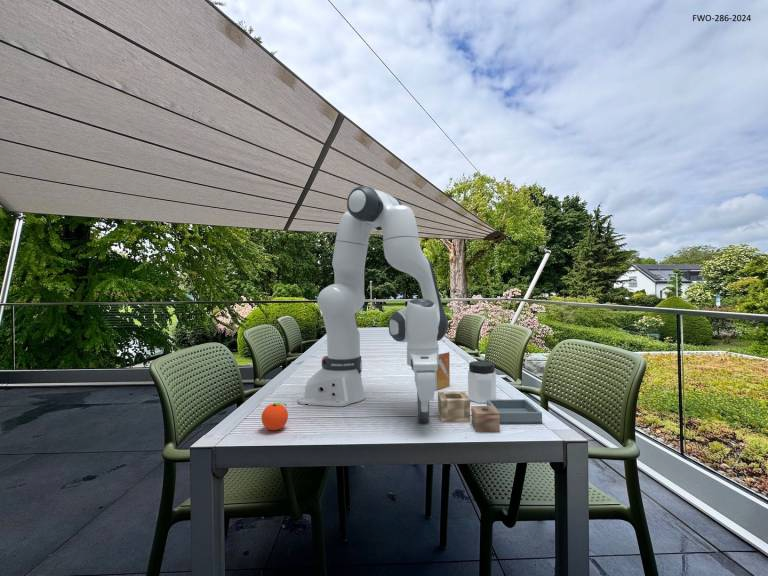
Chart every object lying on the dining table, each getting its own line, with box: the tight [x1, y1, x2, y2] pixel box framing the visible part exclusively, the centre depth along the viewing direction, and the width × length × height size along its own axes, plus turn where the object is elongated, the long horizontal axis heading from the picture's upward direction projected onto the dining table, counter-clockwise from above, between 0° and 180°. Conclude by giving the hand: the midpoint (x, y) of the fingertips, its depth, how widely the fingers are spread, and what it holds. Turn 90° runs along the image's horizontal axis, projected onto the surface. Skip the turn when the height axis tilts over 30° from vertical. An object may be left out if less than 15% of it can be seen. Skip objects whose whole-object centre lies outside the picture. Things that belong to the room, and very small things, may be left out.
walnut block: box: [470, 405, 501, 434], centre depth 100 cm, size 6×6×5 cm
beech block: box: [437, 391, 471, 423], centre depth 109 cm, size 8×8×6 cm
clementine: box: [261, 402, 289, 431], centre depth 102 cm, size 8×7×7 cm
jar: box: [467, 360, 497, 404], centre depth 124 cm, size 9×8×12 cm
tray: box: [486, 398, 543, 425], centre depth 108 cm, size 12×12×3 cm
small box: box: [434, 349, 451, 391], centre depth 141 cm, size 8×6×13 cm
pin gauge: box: [416, 391, 430, 425], centre depth 105 cm, size 3×3×9 cm
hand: (423, 407), depth 105 cm, fingers open, 5 cm apart
